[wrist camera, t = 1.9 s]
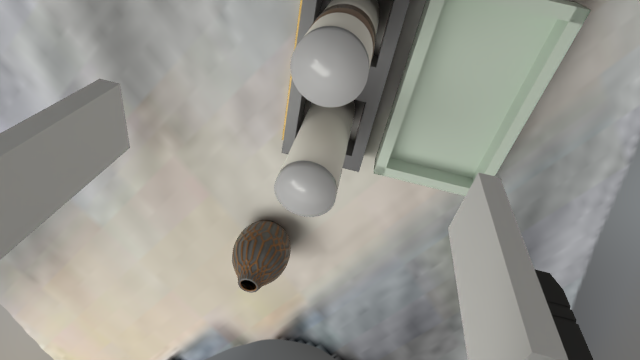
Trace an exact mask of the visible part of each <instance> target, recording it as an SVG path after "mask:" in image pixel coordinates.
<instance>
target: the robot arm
mask: <svg viewBox="0 0 640 360" xmlns="http://www.w3.org/2000/svg"><path fill="white" fill-rule="evenodd" d="M129 148H130V145H129V138H128V132H127V126H126V119H125V113H124V106H123V100H122V93H121V87H120V84H119V83H115V82H111V81H107V80H103V79H99V80H97V81H95V82H93V83H91V84H89V85H88V86H86V87H84V88H82V89H80V90H79V91H77V92H75V93H73V94H71V95H69V96H68V97H66V98H64V99H62V100H60V101H59V102H57V103H55V104H53V105H51V106H49V107H48V108H46V109H44V110H42V111H40V112H39V113H37V114H35V115H33V116H31V117H29V118H28V119H26V120H24V121H22V122H20V123H18V124H17V125H15V126H13V127H11V128H9V129H8V130H6V131H4V132H2V133H0V259H2V258H3V257H4V256H5V255H6V254H7V253H9V252H10V251H11V250H12V249H13V248H14V247H15V246H17V245H18V244H19V243H20V242H21V241H22V240H24V239H25V238H26V237H27V236H28V235H29V234H30V233H32V232H33V231H34V230H35V229H36V228H37V227H39V226H40V225H41V224H42V223H43V222H44V221H46V220H47V219H48V218H49V217H50V216H51V215H52V214H54V213H55V212H56V211H57V210H58V209H59V208H61V207H62V206H63V205H64V204H65V203H66V202H68V201H69V200H70V199H71V198H72V197H73V196H74V195H76V194H77V193H78V192H79V191H80V190H81V189H83V188H84V187H85V186H86V185H87V184H88V183H90V182H91V181H92V180H93V179H94V178H95V177H96V176H98V175H99V174H100V173H101V172H102V171H103V170H105V169H106V168H107V167H108V166H109V165H110V164H112V163H113V162H114V161H115V160H116V159H117V158H118V157H120V156H121V155H122V154H123V153H124V152H125V151H127V150H128V149H129ZM448 230H449V237H450V243H451V250H452V257H453V263H454V270H455V277H456V283H457V290H458V297H459V303H460V310H461V317H462V323H463V330H464V337H465V343H466V350H467V357H468V360H593V358H592V356H591V353H590V351H589V349H588V346H587V344H586V342H585V340H584V337H583V335H582V332H581V330H580V328H579V325H578V324H576V319H575V317H574V314H573V312H572V310H570V305H569V302H568V300H567V298H566V295H565V293H564V291H563V289H562V288H561V287H560V285H559V284H558V283H557V282H556V280H555V279H554V278H553V277H552V276H551V274H550V273H546V272H542V271H539V270H535V269H534V267H533V264H532V261H531V259H530V256H529V253H528V251H527V248H526V245H525V243H524V240H523V237H522V235H521V232H520V229H519V227H518V224H517V221H516V219H515V216H514V213H513V211H512V208H511V205H510V203H509V200H508V197H507V195H506V192H505V189H504V187H503V184H502V181H501V179H500V178H499V177H495V176H491V175H487V174H483V173H479V172H478V174H477V176H476V178H475V180H474V181H473V183H472V185H471V187H470V189H469V191H468V193H467V194H466V196H465V198H464V200H463V202H462V204H461V205H460V207H459V209H458V211H457V213H456V215H455V217H454V218H453V220H452V222H451V224H450V226H449V228H448Z"/></svg>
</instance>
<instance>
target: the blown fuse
mask: <svg viewBox="0 0 640 360" xmlns="http://www.w3.org/2000/svg"><path fill="white" fill-rule="evenodd" d="M379 19H380V9H379V5H378V2H377V0H332V1H331V2H330V3H329V4H328V6H327V7H326V8H325V10H324V11H323V12H322V13H321V14H320V15H319V16H318V17H317V19H316V20H315V21H314V23H313V24H312V25H311V27H310V28H309V30H308V32H307V33H306V34H305V35H304V37H303V38H302V39H301V41H300V42H299V43H298V45H297V46H296V48H295V50H294V52H293V54H292V57H291V64H290V69H291V76H292V79H293V82H294V84H295V86H296V88H297V89H298V91H299V92H300V93H301V94H302V95H303V96H304V97H305V98H306V99H307V100H309V101H310V102H312V103H314V104H316V105H319V106H323V107H340V106H343V105H346V104H348V103H350V102H352V101H353V100H354V99H356V98H357V97H358V96H359V95H360V93H361V92H362V91H363V89H364V87H365V85H366V82H367V79H368V74H369V69H370V64H371V60H372V57H373V53H374V47H375V42H376V34H377V29H378V24H379Z"/></svg>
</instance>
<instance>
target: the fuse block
mask: <svg viewBox="0 0 640 360" xmlns="http://www.w3.org/2000/svg"><path fill="white" fill-rule="evenodd" d="M409 2H410V0H393V3H392V7H391V10H390V14H389V18H388V21H387V25H386V29H385V32H384V36H383V40H382V43H381V47H380V51H379V54H378V56H374V55H373V57H372V60H371V64H370V69H369V74H368V79H367V82H366V85H365V87H364V89H363V91H362V92H361V93H360V95H359V96H358V97H357V98H356V99H354V100H358V101H362V102H365V106H364V109H363V113H362V117H361V120H360V124H359V128H358V131H357V135H356V139H355V141H352V140H349V142H348V146H347V151H346V155H345V159H344V164H343V168H345V169H349V170H353V171H357V172H359V170H360V166H361V163H362V160H363V156H364V153H365V150H366V146H367V143H368V140H369V136H370V133H371V129H372V126H373V123H374V119H375V116H376V113H377V109H378V106H379V103H380V99H381V96H382V93H383V89H384V86H385V83H386V79H387V76H388V72H389V69H390V66H391V62H392V59H393V56H394V52H395V49H396V46H397V42H398V39H399V36H400V32H401V29H402V26H403V22H404V19H405V15H406V12H407V9H408V5H409ZM321 4H322V0H301V2H300V9H299V17H298V24H297V32H296V39H295V47H294V50H295V48H296V46H297V45H298V43H299V42H300V41H301V39H302V38H303V37H304V35H305V34H306V33H307V32H308V30H309V28H310V27H311V25H312V24H313V23H314V21H315V20H316V19H317V17H318V16H319V15H320V10H321ZM305 100H306V98H305V97H304V96H303V95H302V94H301V93H300V92H299V91H298V89H297V88H296V86H295V84H294V82H293V79H292V76H291V77H290V84H289V92H288V99H287V107H286V114H285V122H284V129H283V137H282V140H283V147H282V153H285V154H288V153H289V151H290V149H291V147H292V145H293V142H294V140H295V138H296V136H297V134H298V132H299V130H300V127H301V124H302V118H303V112H304V106H305Z"/></svg>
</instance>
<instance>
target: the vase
mask: <svg viewBox="0 0 640 360" xmlns="http://www.w3.org/2000/svg"><path fill="white" fill-rule="evenodd" d="M290 249H291V247H290V240H289V237H288V235H287V233H286V232H285V230H284V229H283V228H282V227H281V226H279V225H278V224H276V223H274V222H270V221H258V222H255V223H252V224H251V225H249V226H248V227H246V228H245V229H244V230H243V231H242V232H241V234H240V235H239V237H238V238H237V240H236V242H235V245H234V248H233V254H232V262H233V267H234V270H235V272H236V274H237V277H238V285H239V287H240V288H241V289H243V290H244V291H247V292H256V291H257V290H258V289H260V288H261V287H262V286H264V285H266V284H268V283H271V282H272V281H274V280H275V279H277V278H278V277H279V276H280V275H281V273H282V272H283V271H284V269H285V268H286V266H287V263H288V261H289V257H290Z"/></svg>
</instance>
